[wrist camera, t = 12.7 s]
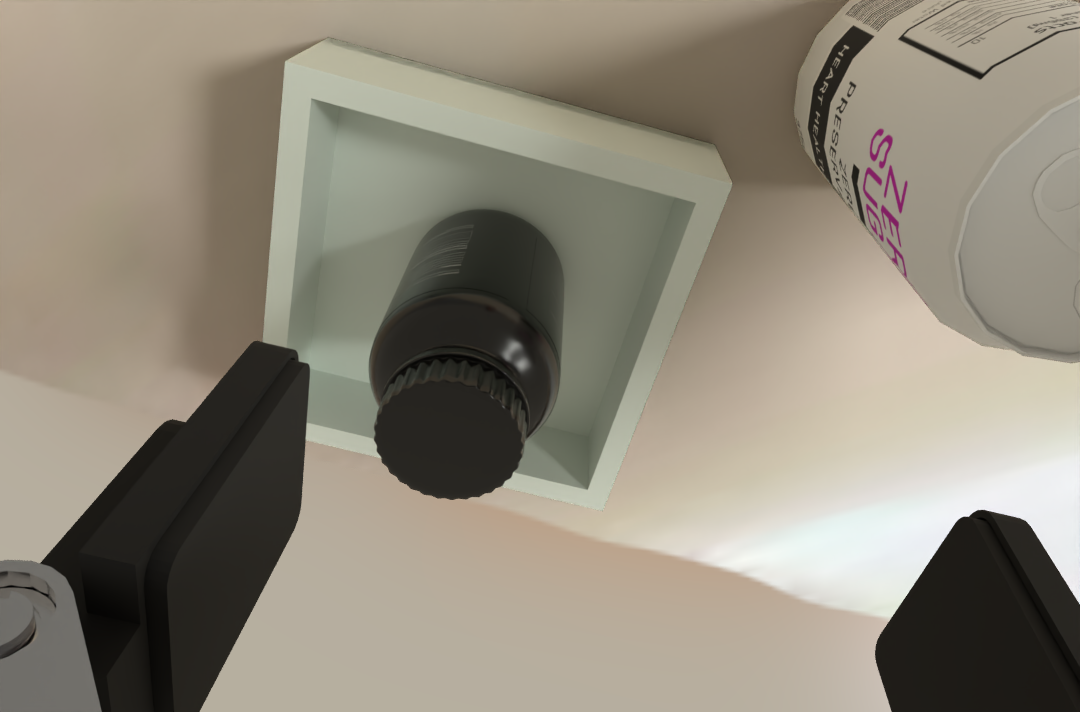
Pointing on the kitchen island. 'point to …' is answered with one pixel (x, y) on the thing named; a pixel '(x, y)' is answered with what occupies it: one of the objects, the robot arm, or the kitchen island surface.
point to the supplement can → (960, 156)
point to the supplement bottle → (468, 354)
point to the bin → (468, 184)
